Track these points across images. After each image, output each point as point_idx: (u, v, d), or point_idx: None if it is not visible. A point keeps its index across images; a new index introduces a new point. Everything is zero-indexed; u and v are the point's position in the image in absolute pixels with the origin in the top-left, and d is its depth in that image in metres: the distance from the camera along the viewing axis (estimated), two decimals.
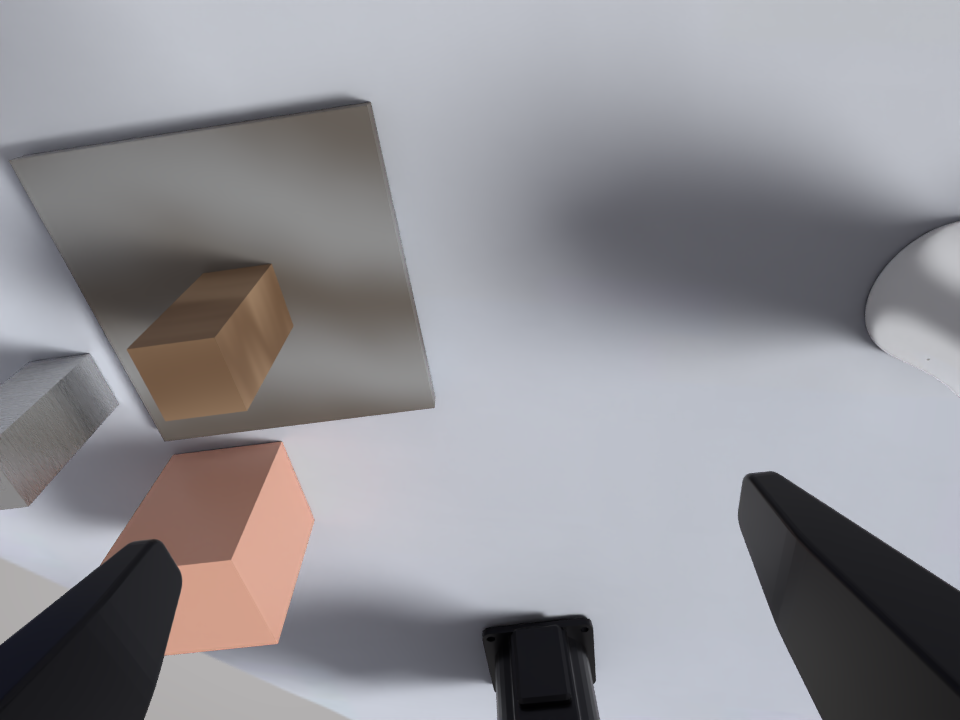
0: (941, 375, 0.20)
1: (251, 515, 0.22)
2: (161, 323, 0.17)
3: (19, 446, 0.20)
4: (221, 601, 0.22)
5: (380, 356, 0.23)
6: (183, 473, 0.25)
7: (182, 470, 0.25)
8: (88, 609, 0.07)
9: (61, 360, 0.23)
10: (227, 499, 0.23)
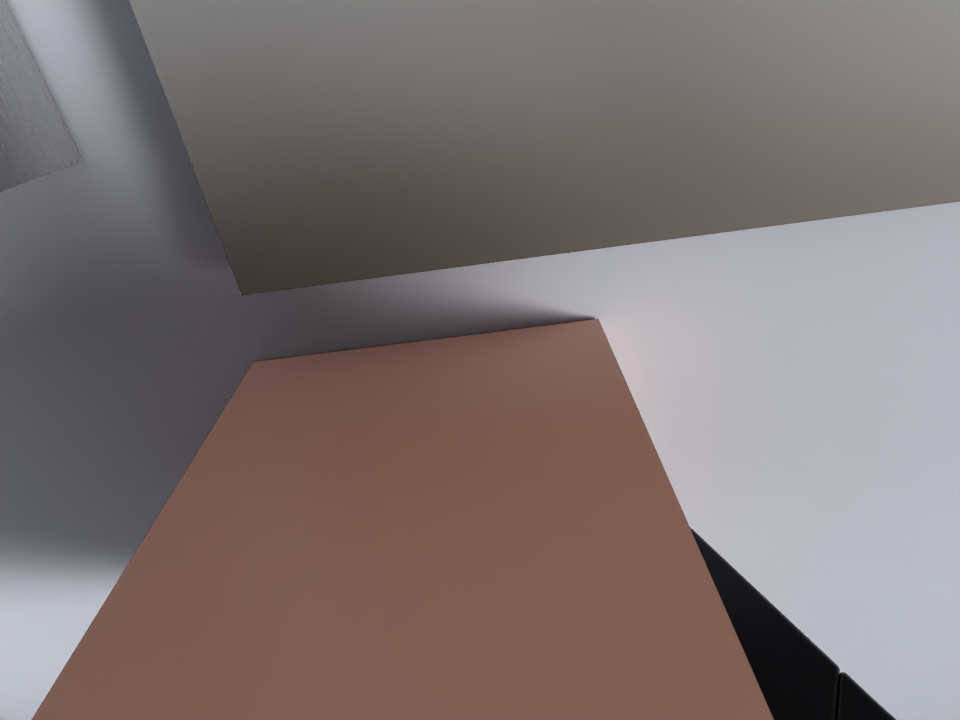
0: None
1: (706, 577, 0.05)
2: None
3: None
4: None
5: None
6: (303, 409, 0.07)
7: (296, 400, 0.07)
8: None
9: None
10: (533, 498, 0.05)
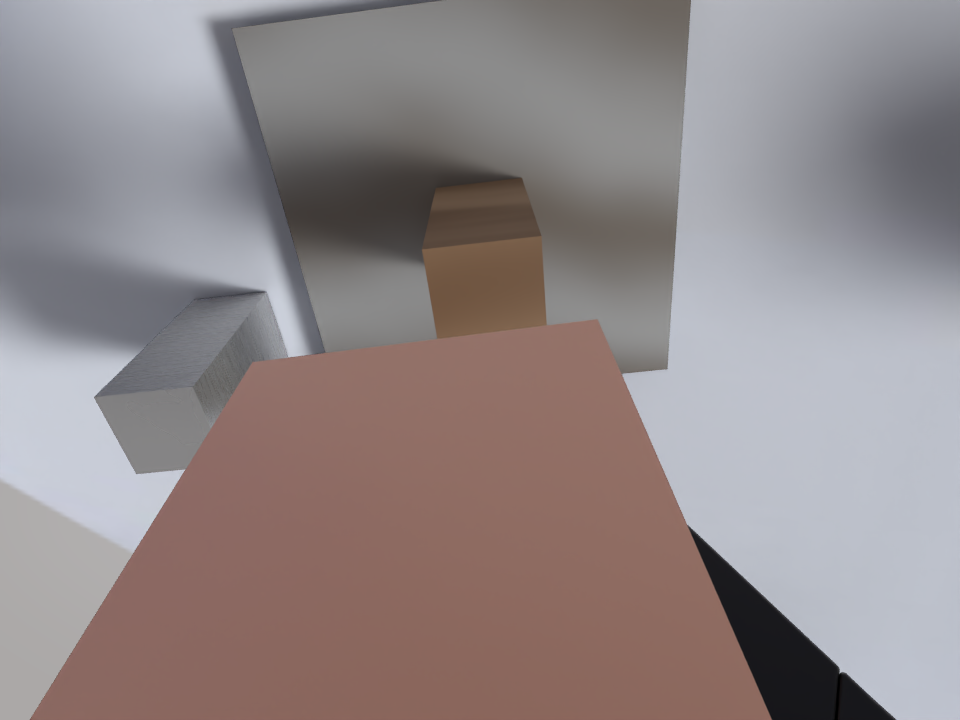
0: None
1: (705, 578, 0.05)
2: (440, 227, 0.14)
3: (219, 389, 0.16)
4: None
5: (620, 302, 0.19)
6: (302, 409, 0.07)
7: (294, 400, 0.07)
8: None
9: (234, 298, 0.19)
10: (532, 499, 0.05)
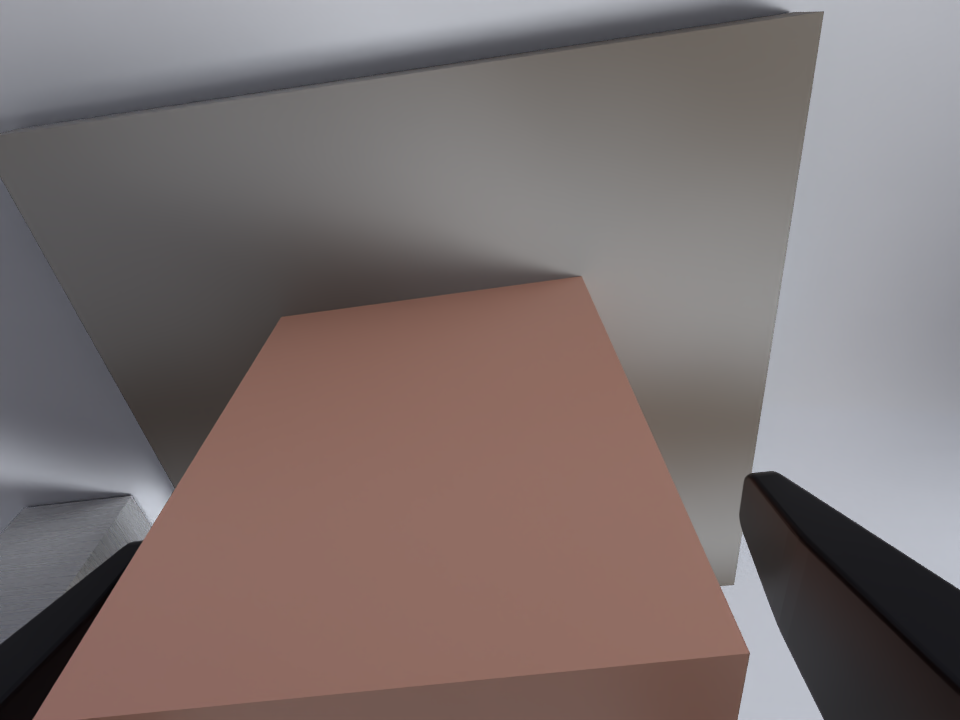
0: None
1: (656, 452, 0.06)
2: None
3: None
4: None
5: None
6: (328, 350, 0.09)
7: (321, 344, 0.09)
8: (87, 610, 0.07)
9: (81, 510, 0.13)
10: (521, 405, 0.07)
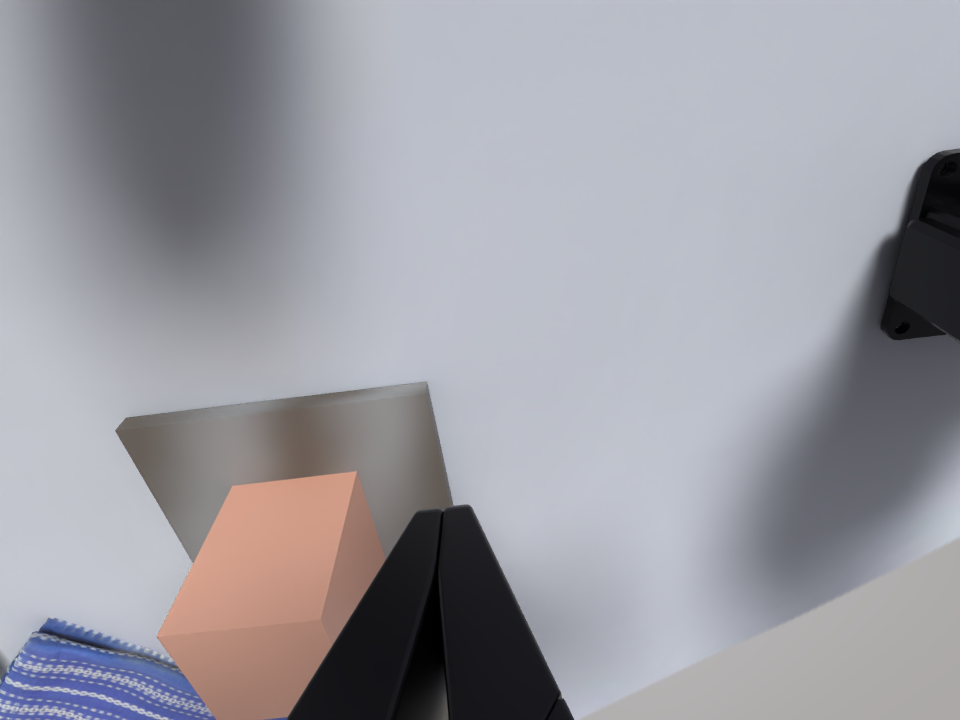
0: None
1: (189, 576, 0.19)
2: None
3: None
4: (239, 652, 0.18)
5: (361, 437, 0.22)
6: None
7: None
8: (427, 574, 0.07)
9: None
10: None
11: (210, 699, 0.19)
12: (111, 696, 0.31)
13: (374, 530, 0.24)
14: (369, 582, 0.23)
